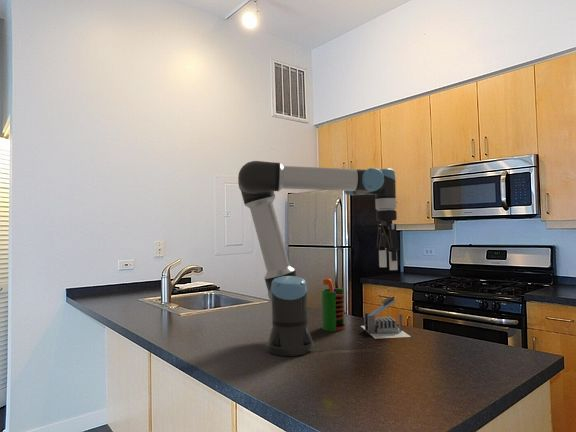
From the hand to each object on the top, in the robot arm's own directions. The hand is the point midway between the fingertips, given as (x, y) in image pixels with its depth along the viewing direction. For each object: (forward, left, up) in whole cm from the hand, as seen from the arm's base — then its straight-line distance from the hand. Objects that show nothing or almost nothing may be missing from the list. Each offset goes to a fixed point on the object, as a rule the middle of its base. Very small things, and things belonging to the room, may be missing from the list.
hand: (388, 268), depth 154 cm
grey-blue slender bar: (0, +3, -15) cm, 16 cm away
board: (0, +2, -24) cm, 24 cm away
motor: (+8, +20, -24) cm, 32 cm away
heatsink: (0, +2, -23) cm, 23 cm away
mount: (0, +2, -23) cm, 23 cm away
